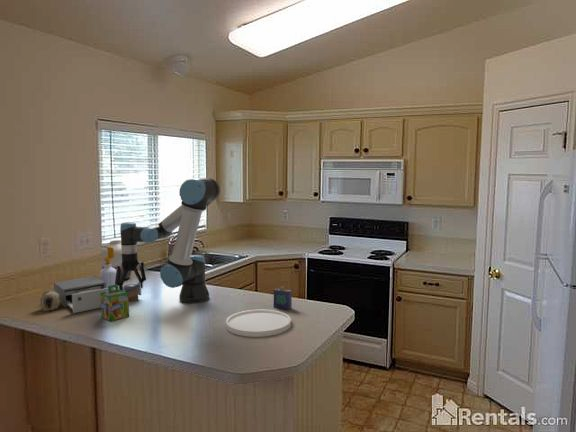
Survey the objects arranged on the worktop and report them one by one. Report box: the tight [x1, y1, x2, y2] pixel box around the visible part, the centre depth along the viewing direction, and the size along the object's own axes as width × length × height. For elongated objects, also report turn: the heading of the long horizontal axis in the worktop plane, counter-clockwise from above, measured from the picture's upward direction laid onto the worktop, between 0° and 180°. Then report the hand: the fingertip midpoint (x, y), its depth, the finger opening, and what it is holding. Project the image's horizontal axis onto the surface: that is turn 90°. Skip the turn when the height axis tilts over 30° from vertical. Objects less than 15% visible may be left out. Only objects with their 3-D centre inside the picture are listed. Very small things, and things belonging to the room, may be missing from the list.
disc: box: [123, 283, 139, 291], centre depth 225 cm, size 8×8×2 cm
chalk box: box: [100, 284, 130, 322], centre depth 200 cm, size 9×9×15 cm
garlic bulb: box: [39, 289, 61, 312], centre depth 212 cm, size 9×8×10 cm
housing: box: [53, 275, 106, 308], centre depth 228 cm, size 18×20×9 cm
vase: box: [100, 239, 133, 281], centre depth 269 cm, size 17×17×24 cm
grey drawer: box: [65, 286, 113, 314], centre depth 218 cm, size 18×19×9 cm
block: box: [125, 290, 139, 303], centre depth 225 cm, size 5×5×6 cm
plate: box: [225, 308, 292, 338], centre depth 189 cm, size 28×28×2 cm
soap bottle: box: [99, 246, 116, 290], centre depth 246 cm, size 9×9×25 cm
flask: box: [273, 286, 293, 310], centre depth 211 cm, size 9×3×11 cm, turn 68°
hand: (131, 296), depth 226 cm, fingers closed on disc, 8 cm apart
